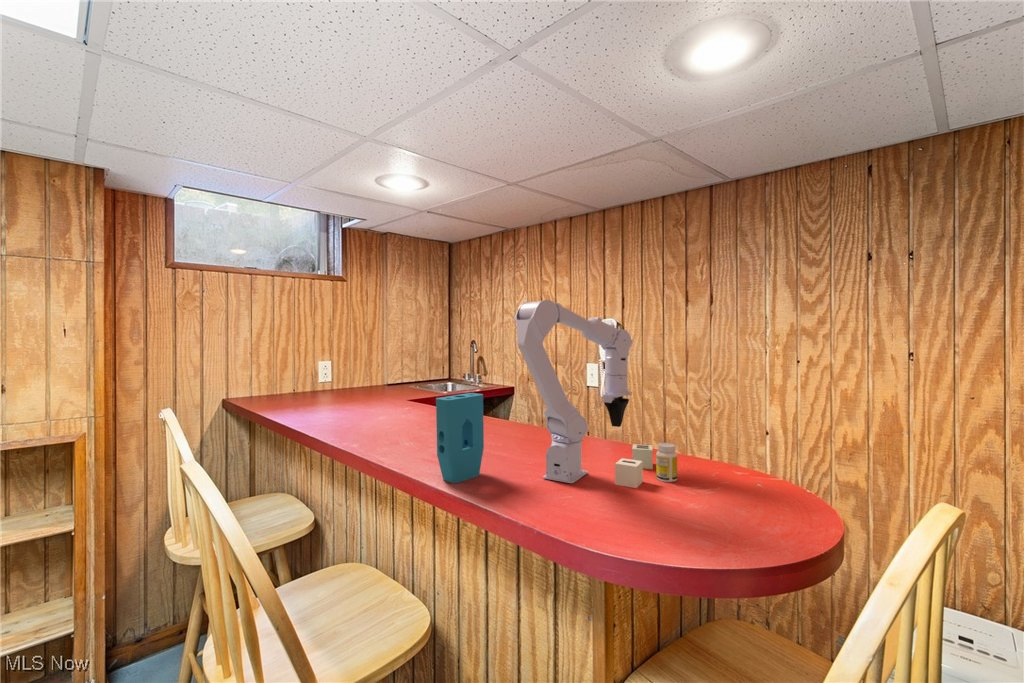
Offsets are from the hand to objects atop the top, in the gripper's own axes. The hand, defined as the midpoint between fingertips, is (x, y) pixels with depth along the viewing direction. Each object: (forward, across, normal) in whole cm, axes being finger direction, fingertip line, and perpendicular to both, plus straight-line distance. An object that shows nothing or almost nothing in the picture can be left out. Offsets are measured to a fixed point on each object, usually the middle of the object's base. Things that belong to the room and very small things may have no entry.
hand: (616, 426), depth 121 cm
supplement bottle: (+11, -5, -14) cm, 18 cm away
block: (+11, -28, +30) cm, 42 cm away
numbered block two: (+10, +3, -6) cm, 12 cm away
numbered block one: (+10, -12, -7) cm, 17 cm away
